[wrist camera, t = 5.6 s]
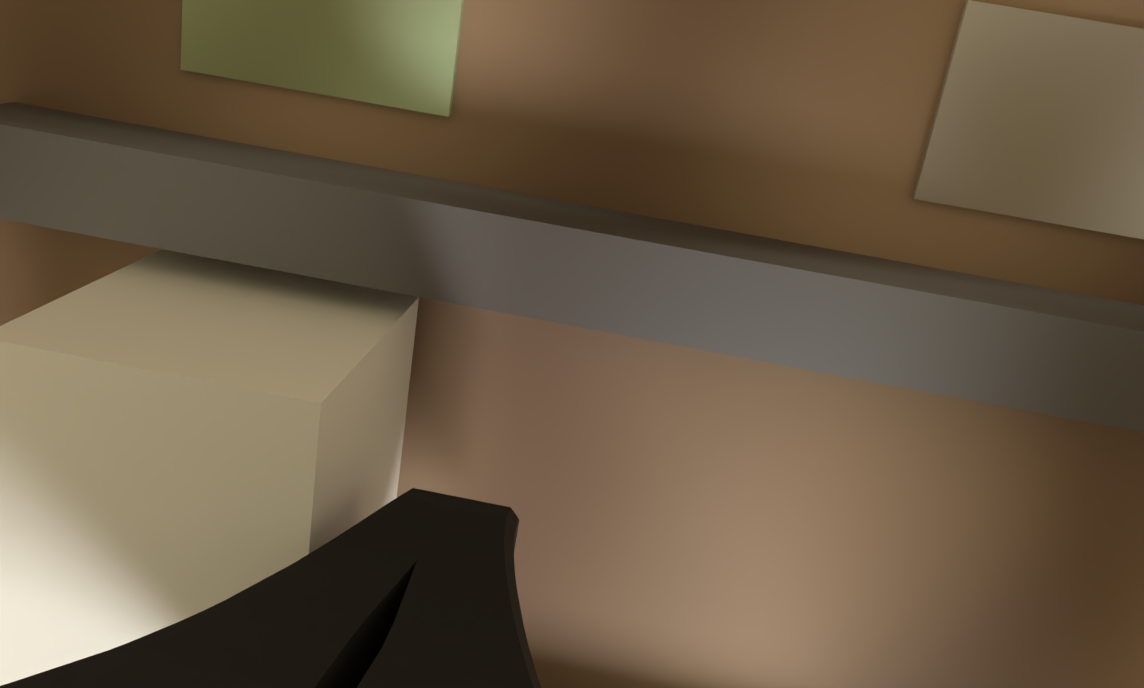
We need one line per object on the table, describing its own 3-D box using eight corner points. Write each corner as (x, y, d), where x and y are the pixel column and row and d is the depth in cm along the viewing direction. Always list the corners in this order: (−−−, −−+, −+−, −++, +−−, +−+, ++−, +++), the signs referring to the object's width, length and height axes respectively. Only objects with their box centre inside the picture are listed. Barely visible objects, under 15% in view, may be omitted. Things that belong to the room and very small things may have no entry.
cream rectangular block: (419, 296, 12) (320, 404, 9) (378, 665, 13) (283, 862, 10) (162, 249, 12) (-22, 336, 9) (153, 618, 13) (-4, 799, 10)
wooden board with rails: (1469, 40, 12) (1741, 57, 9) (1073, 952, 16) (1159, 1171, 13) (-47, -206, 13) (-281, -269, 10) (-9, 718, 17) (-158, 871, 14)
